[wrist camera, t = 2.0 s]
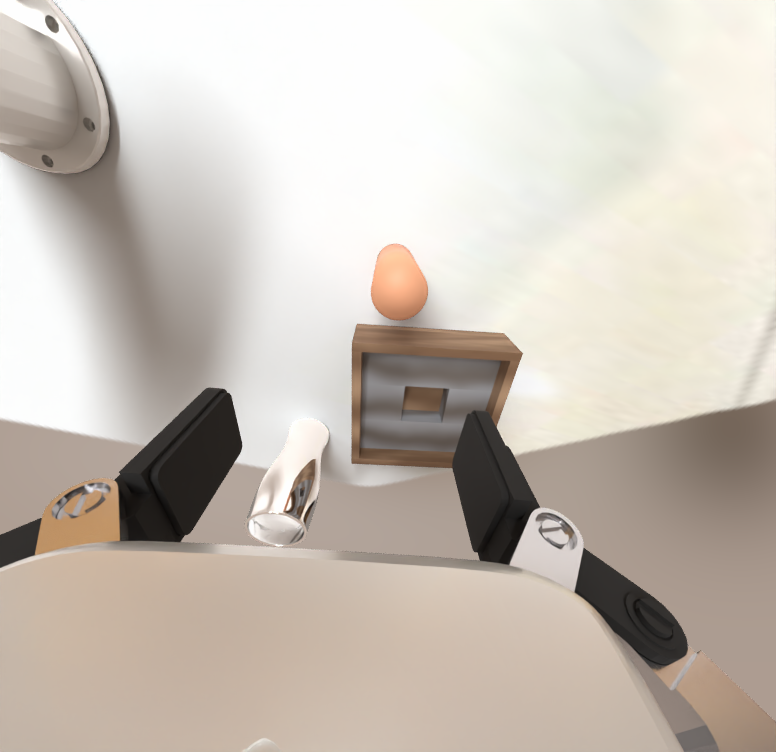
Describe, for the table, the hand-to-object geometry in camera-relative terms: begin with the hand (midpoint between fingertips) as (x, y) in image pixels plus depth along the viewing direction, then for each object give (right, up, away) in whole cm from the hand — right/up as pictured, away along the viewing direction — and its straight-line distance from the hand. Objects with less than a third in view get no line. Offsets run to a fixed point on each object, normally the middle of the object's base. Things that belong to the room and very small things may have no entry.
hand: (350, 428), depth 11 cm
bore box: (+6, 0, +27) cm, 28 cm away
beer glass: (-11, -6, +31) cm, 33 cm away
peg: (+2, +14, +19) cm, 23 cm away
